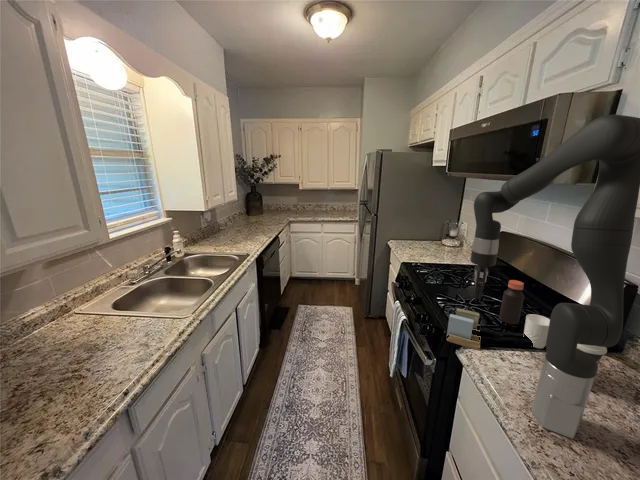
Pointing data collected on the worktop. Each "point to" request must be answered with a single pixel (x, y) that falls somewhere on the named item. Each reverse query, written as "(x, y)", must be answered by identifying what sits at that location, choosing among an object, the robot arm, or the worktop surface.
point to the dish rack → (475, 339)
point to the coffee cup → (593, 351)
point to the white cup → (537, 329)
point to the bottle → (512, 302)
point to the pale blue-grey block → (460, 326)
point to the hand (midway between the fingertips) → (477, 293)
